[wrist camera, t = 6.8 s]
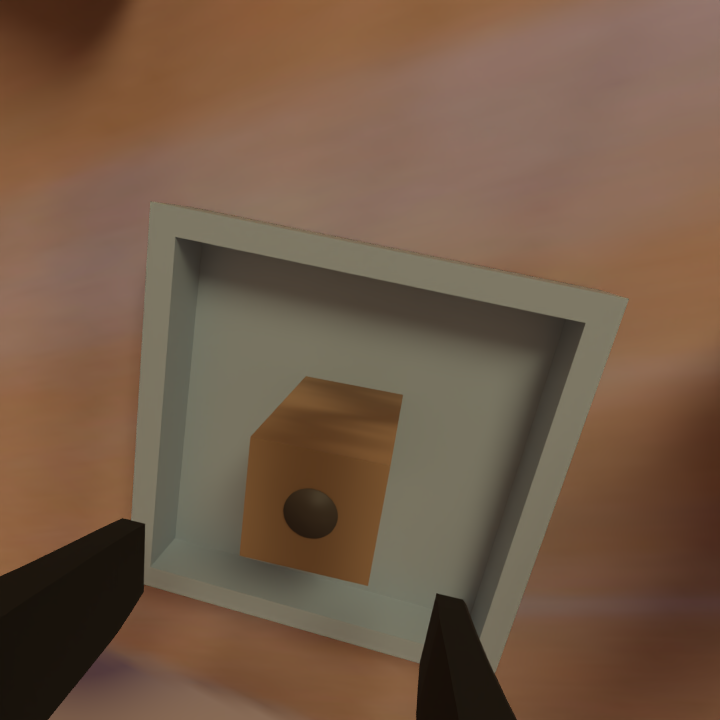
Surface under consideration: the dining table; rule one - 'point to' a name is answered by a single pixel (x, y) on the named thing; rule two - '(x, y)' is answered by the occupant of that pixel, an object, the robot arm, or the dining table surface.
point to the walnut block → (320, 479)
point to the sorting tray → (370, 370)
